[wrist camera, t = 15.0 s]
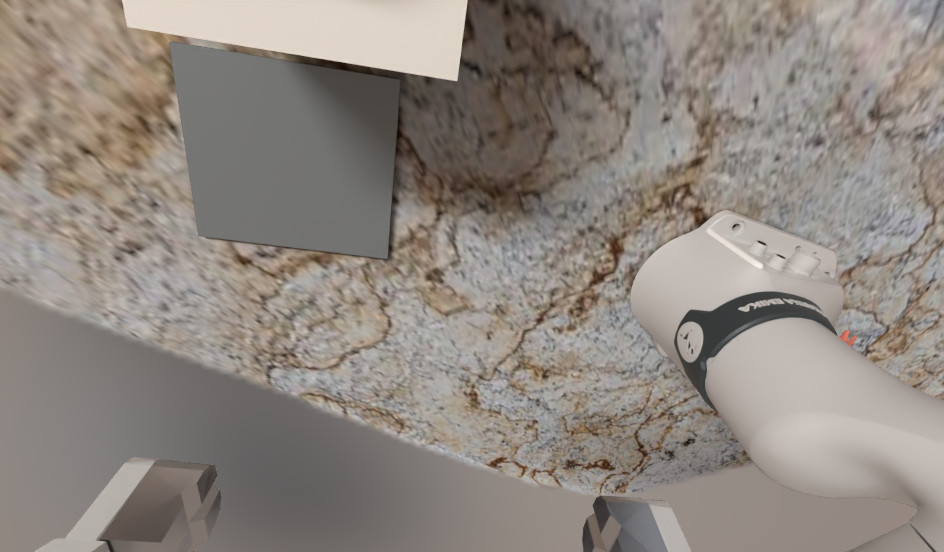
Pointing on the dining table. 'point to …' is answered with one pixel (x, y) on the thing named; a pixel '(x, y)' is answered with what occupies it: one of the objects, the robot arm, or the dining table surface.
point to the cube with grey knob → (322, 29)
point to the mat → (288, 150)
